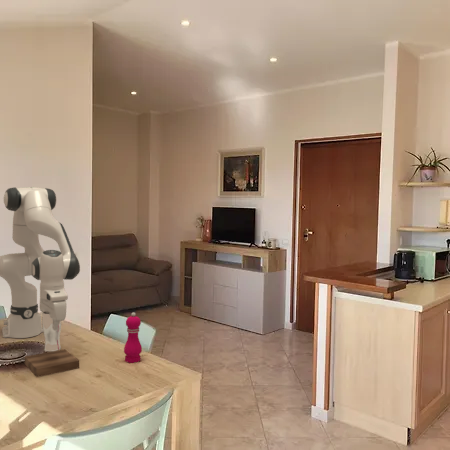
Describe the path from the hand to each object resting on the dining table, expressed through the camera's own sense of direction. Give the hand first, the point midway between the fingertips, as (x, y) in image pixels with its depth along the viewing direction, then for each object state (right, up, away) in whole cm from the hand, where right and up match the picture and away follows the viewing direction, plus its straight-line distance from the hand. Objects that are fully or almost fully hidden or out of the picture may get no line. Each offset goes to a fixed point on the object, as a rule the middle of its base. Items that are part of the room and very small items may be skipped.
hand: (51, 327), depth 182 cm
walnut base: (0, -16, +1) cm, 15 cm away
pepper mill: (+30, -16, +10) cm, 35 cm away
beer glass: (0, -9, +1) cm, 9 cm away
